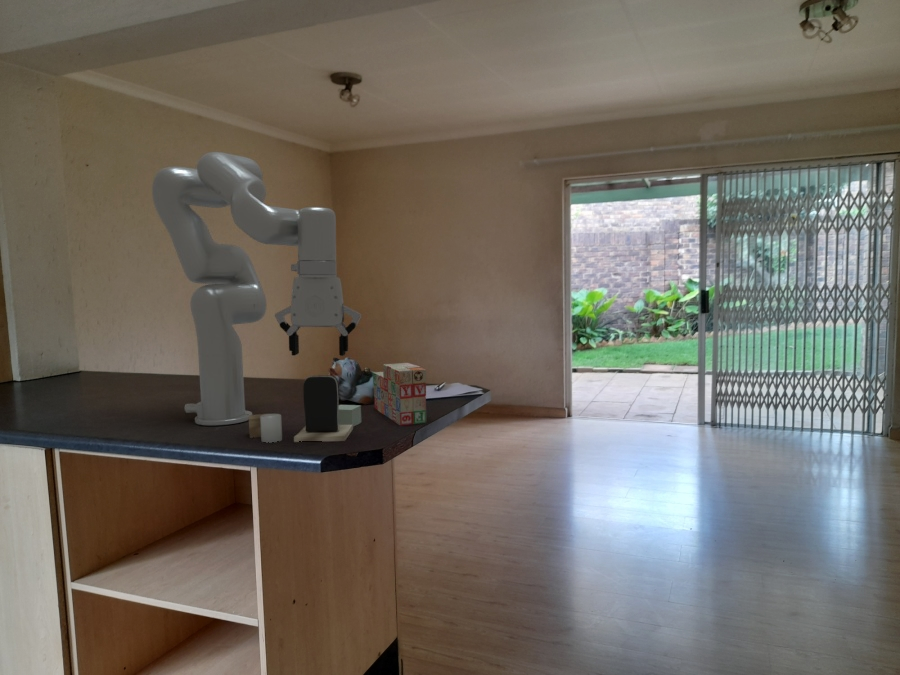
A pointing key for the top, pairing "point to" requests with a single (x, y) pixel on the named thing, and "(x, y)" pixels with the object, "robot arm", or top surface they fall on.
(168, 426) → the top surface
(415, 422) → the stack of blocks
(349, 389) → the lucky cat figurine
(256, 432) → the oak block
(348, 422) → the sage block
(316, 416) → the battery
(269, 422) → the grey rounded block
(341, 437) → the birch coaster
